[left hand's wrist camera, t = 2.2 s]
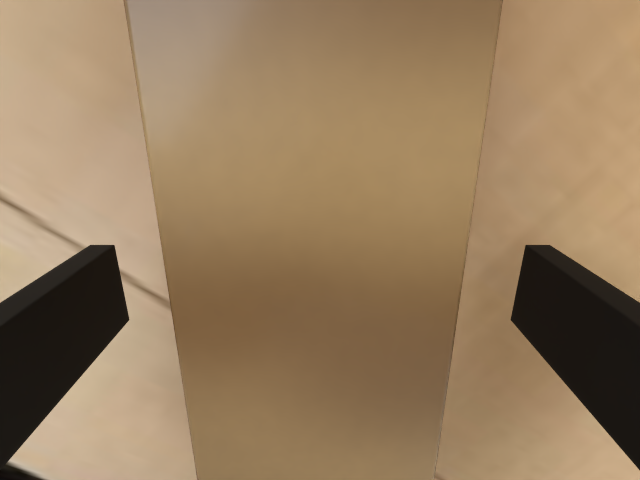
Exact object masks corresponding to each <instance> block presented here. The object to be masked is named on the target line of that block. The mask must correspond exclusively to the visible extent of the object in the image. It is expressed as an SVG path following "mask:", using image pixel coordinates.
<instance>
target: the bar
mask: <svg viewBox="0 0 640 480" xmlns="http://www.w3.org/2000/svg"><path fill="white" fill-rule="evenodd" d="M502 1H503V0H124V5H125V11H126V18H127V24H128V31H129V37H130V44H131V50H132V57H133V63H134V70H135V76H136V83H137V89H138V96H139V102H140V109H141V115H142V122H143V128H144V135H145V141H146V148H147V154H148V161H149V168H150V174H151V181H152V187H153V194H154V200H155V207H156V213H157V220H158V226H159V233H160V239H161V246H162V252H163V259H164V265H165V272H166V278H167V285H168V291H169V298H170V304H171V311H172V317H173V324H174V330H175V337H176V343H177V350H178V356H179V363H180V369H181V376H182V382H183V389H184V395H185V402H186V408H187V415H188V421H189V428H190V434H191V441H192V447H193V454H194V460H195V467H196V473H197V480H434V476H435V469H436V462H437V455H438V448H439V441H440V434H441V427H442V420H443V413H444V406H445V399H446V392H447V385H448V378H449V371H450V364H451V357H452V350H453V343H454V336H455V329H456V322H457V315H458V308H459V301H460V294H461V287H462V280H463V274H464V267H465V260H466V253H467V246H468V239H469V232H470V225H471V218H472V211H473V204H474V197H475V190H476V183H477V176H478V169H479V162H480V155H481V148H482V141H483V134H484V127H485V120H486V113H487V106H488V99H489V92H490V85H491V78H492V71H493V64H494V57H495V50H496V43H497V36H498V29H499V22H500V15H501V8H502Z"/></svg>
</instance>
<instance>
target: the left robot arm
mask: <svg viewBox="0 0 640 480" xmlns="http://www.w3.org/2000/svg"><path fill="white" fill-rule="evenodd" d="M128 321H129V316H128V311H127V306H126V301H125V296H124V291H123V286H122V281H121V276H120V271H119V266H118V261H117V256H116V251H115V246H114V245H90V246H88V247H87V248H85V249H83V250H82V251H80V252H79V253H77V254H76V255H74V256H73V257H71V258H69V259H68V260H66V261H65V262H63V263H62V264H60V265H59V266H57V267H55V268H54V269H52V270H51V271H49V272H48V273H46V274H44V275H43V276H41V277H40V278H38V279H37V280H35V281H34V282H32V283H30V284H29V285H27V286H26V287H24V288H23V289H21V290H20V291H18V292H16V293H15V294H13V295H12V296H10V297H9V298H7V299H6V300H4V301H2V302H1V303H0V470H1V469H2V468H3V466H4V465H5V464H6V463H7V462H8V461H9V459H10V458H11V457H12V456H13V455H14V454H15V452H16V451H17V450H18V449H19V448H20V447H21V445H22V444H23V443H24V442H25V441H26V440H27V438H28V437H29V436H30V435H31V434H32V433H33V431H34V430H35V429H36V428H37V427H38V426H39V424H40V423H41V422H42V421H43V420H44V419H45V417H46V416H47V415H48V414H49V413H50V412H51V410H52V409H53V408H54V407H55V406H56V405H57V403H58V402H59V401H60V400H61V399H62V398H63V396H64V395H65V394H66V393H67V392H68V391H69V389H70V388H71V387H72V386H73V385H74V384H75V382H76V381H77V380H78V379H79V378H80V377H81V375H82V374H83V373H84V372H85V371H86V370H87V369H88V367H89V366H90V365H91V364H92V363H93V362H94V360H95V359H96V358H97V357H98V356H99V355H100V353H101V352H102V351H103V350H104V349H105V348H106V346H107V345H108V344H109V343H110V342H111V341H112V339H113V338H114V337H115V336H116V335H117V334H118V332H119V331H120V330H121V329H122V328H123V327H124V325H125V324H126V323H127V322H128ZM511 321H512V322H513V323H514V324H515V325H516V327H517V328H518V329H519V330H520V331H521V332H522V334H523V335H524V336H525V337H526V338H527V339H528V341H529V342H530V343H531V344H532V345H533V346H534V348H535V349H536V350H537V351H538V352H539V353H540V355H541V356H542V357H543V358H544V359H545V360H546V362H547V363H548V364H549V365H550V366H551V367H552V369H553V370H554V371H555V372H556V373H557V374H558V375H559V377H560V378H561V379H562V380H563V381H564V382H565V384H566V385H567V386H568V387H569V388H570V389H571V391H572V392H573V393H574V394H575V395H576V396H577V398H578V399H579V400H580V401H581V402H582V403H583V405H584V406H585V407H586V408H587V409H588V410H589V412H590V413H591V414H592V415H593V416H594V417H595V419H596V420H597V421H598V422H599V423H600V424H601V426H602V427H603V428H604V429H605V430H606V431H607V433H608V434H609V435H610V436H611V437H612V438H613V440H614V441H615V442H616V443H617V444H618V445H619V447H620V448H621V449H622V450H623V451H624V452H625V454H626V455H627V456H628V457H629V458H630V459H631V461H632V462H633V463H634V464H635V465H636V466H637V468H638V469H639V470H640V303H639V302H638V301H636V300H634V299H633V298H631V297H630V296H628V295H627V294H625V293H624V292H622V291H620V290H619V289H617V288H616V287H614V286H613V285H611V284H610V283H608V282H606V281H605V280H603V279H602V278H600V277H599V276H597V275H596V274H594V273H592V272H591V271H589V270H588V269H586V268H585V267H583V266H581V265H580V264H578V263H577V262H575V261H574V260H572V259H571V258H569V257H567V256H566V255H564V254H563V253H561V252H560V251H558V250H557V249H555V248H553V247H552V246H550V245H526V246H525V251H524V256H523V261H522V266H521V271H520V276H519V281H518V286H517V291H516V296H515V301H514V306H513V311H512V316H511Z"/></svg>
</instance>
